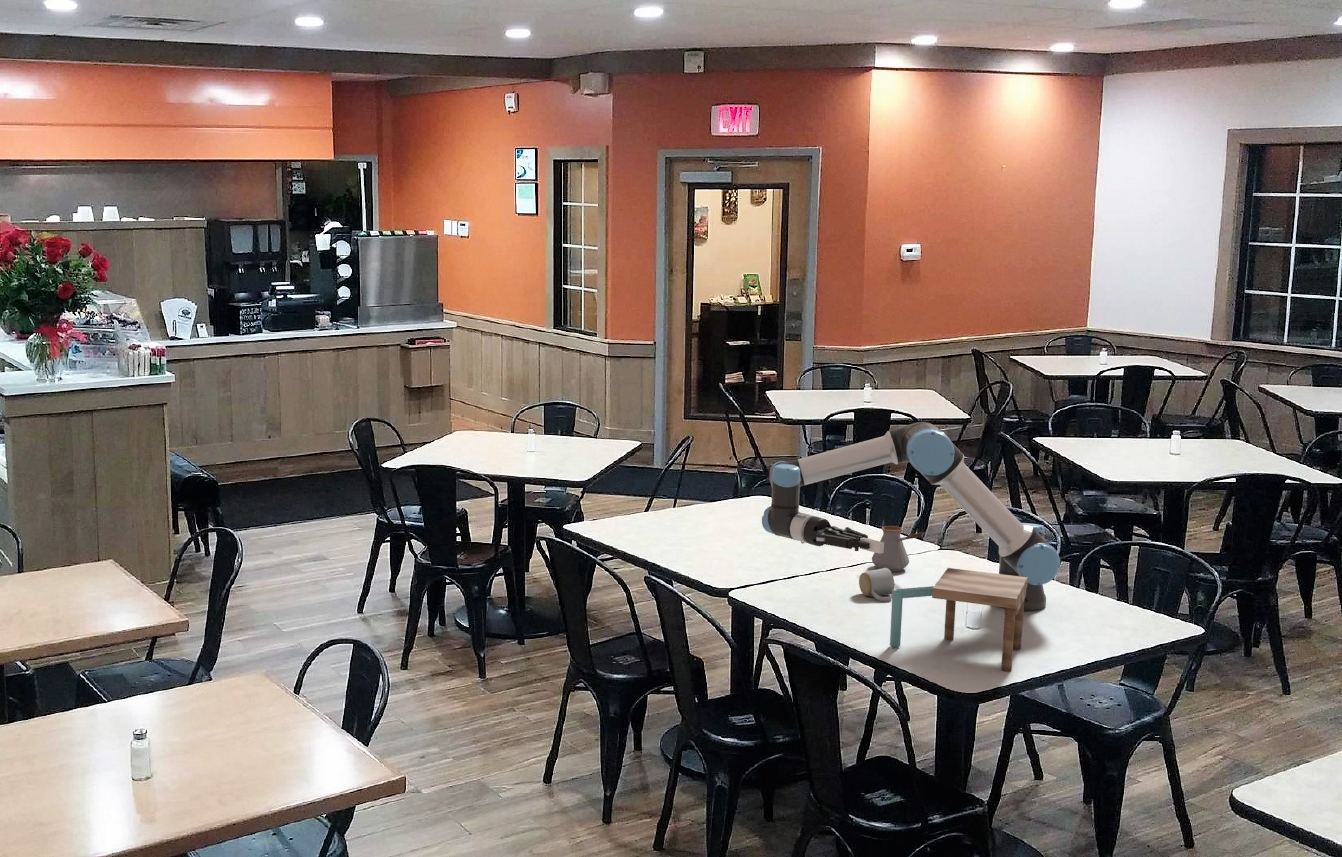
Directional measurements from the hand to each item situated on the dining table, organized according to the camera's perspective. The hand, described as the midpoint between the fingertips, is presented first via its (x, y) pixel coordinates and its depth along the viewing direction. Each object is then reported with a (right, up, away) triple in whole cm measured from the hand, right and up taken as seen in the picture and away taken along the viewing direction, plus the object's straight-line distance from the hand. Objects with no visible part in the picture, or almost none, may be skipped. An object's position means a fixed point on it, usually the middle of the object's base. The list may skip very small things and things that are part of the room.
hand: (881, 548), depth 327 cm
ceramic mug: (+6, -18, +44) cm, 48 cm away
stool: (+23, -26, -3) cm, 35 cm away
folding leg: (+10, -24, +3) cm, 26 cm away
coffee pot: (+17, -14, +69) cm, 72 cm away
